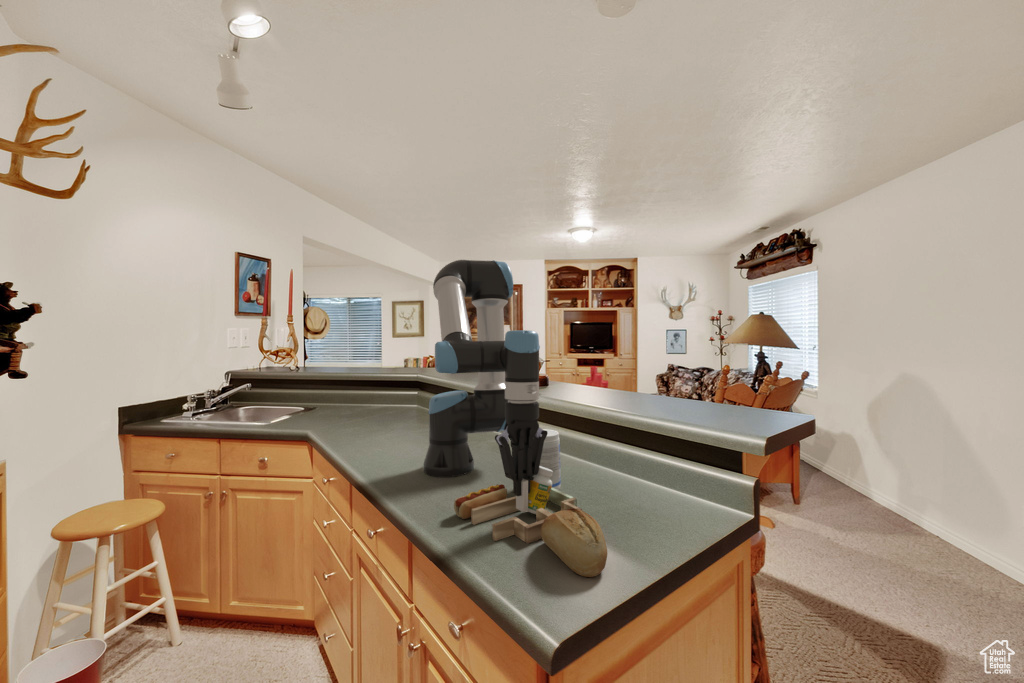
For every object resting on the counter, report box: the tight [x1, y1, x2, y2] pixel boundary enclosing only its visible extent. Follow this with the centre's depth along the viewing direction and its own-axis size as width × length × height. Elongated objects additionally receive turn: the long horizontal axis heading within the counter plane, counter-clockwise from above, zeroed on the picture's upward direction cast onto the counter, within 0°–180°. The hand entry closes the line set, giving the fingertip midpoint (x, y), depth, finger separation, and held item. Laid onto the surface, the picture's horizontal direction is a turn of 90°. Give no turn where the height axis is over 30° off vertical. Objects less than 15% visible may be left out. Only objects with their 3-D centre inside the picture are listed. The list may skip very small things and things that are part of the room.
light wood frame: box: [470, 488, 583, 545], centre depth 85 cm, size 14×22×3 cm, turn 125°
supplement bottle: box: [527, 466, 553, 515], centre depth 89 cm, size 5×5×10 cm
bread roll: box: [541, 508, 608, 578], centre depth 71 cm, size 10×15×8 cm, turn 28°
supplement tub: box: [533, 428, 562, 491], centre depth 104 cm, size 10×10×15 cm
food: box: [453, 484, 508, 520], centre depth 91 cm, size 14×6×5 cm, turn 133°
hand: (521, 509), depth 86 cm, fingers closed
